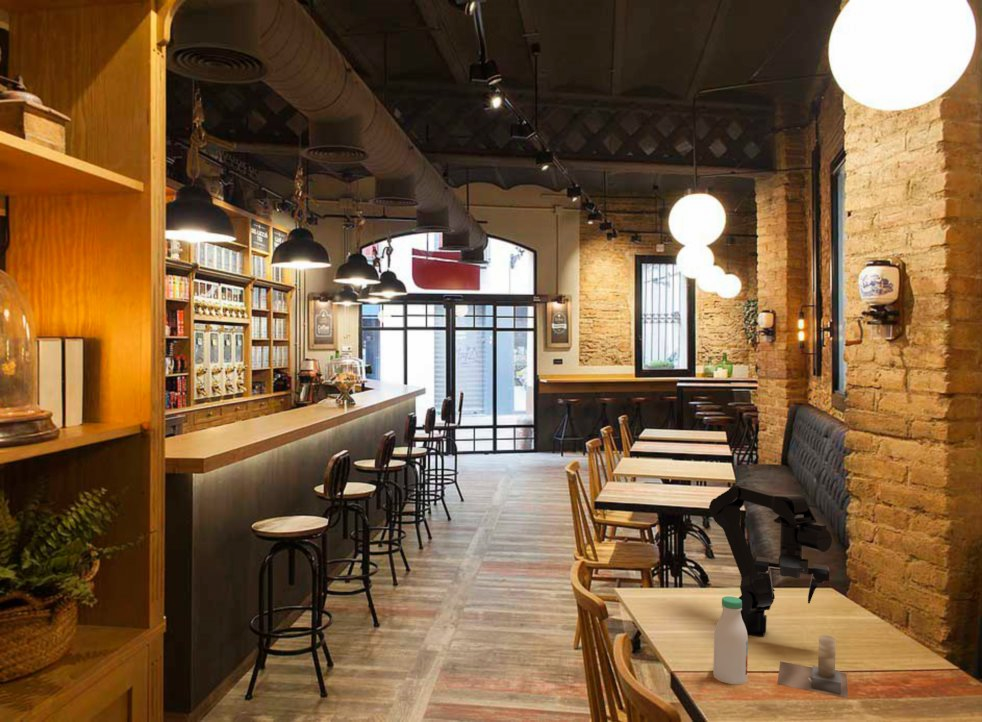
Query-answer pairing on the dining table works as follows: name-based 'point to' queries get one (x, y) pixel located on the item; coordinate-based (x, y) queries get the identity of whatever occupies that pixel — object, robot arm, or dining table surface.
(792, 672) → the walnut board
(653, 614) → the dining table surface
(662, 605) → the dining table surface
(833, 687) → the tan and grey post
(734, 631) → the milk bottle
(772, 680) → the dining table surface
